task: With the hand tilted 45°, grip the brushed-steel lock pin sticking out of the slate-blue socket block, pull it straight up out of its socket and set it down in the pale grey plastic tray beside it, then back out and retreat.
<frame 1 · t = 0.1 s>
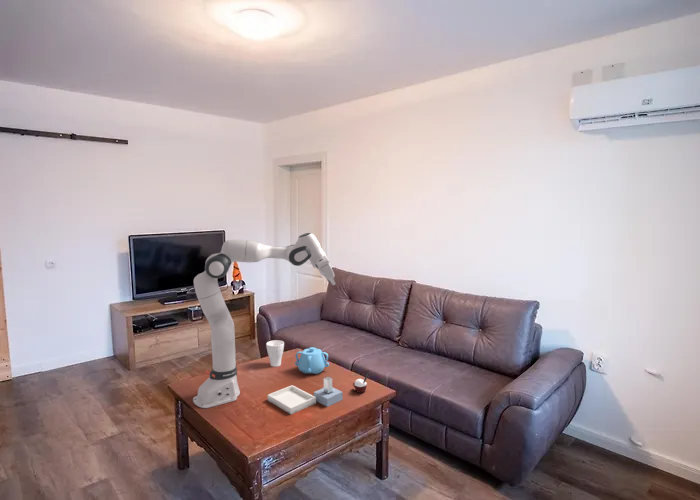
hand: (332, 282, 214), 54 cm above the table, tool tilted 30°, fingers open, 8 cm apart
socket block: (328, 399, 199), on the table
tray: (291, 401, 197), on the table
cocoa: (360, 391, 208), on the table
decorative pot: (312, 370, 234), on the table
lock pin: (328, 389, 198), in the socket block
cup: (275, 365, 243), on the table
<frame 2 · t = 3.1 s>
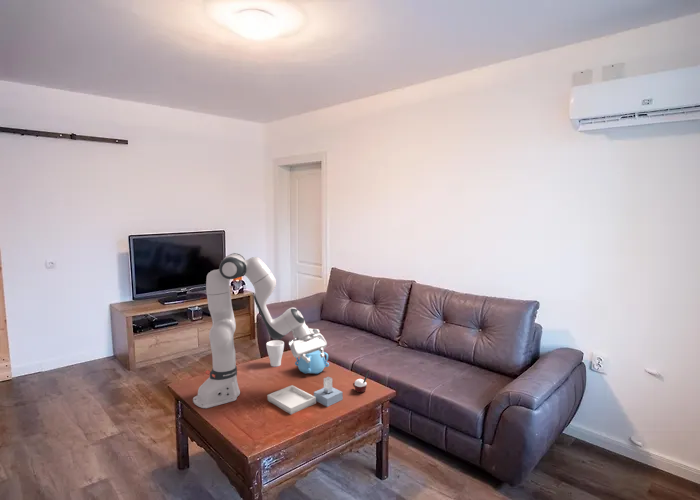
hand: (316, 359, 203), 18 cm above the table, tool tilted 45°, fingers open, 8 cm apart
nothing on the table moved.
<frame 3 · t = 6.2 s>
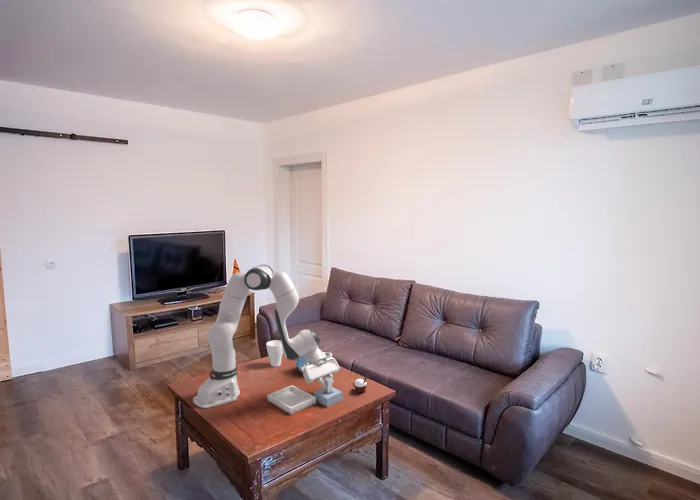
hand: (328, 384, 198), 8 cm above the table, tool tilted 45°, fingers closed on lock pin, 3 cm apart
lock pin: (328, 389, 198), in the socket block, touching gripper
everything else where it was.
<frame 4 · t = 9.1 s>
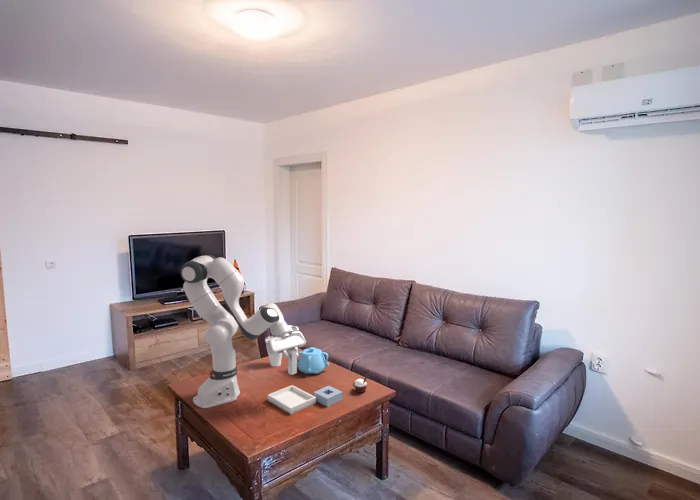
hand: (293, 357, 194), 22 cm above the table, tool tilted 45°, fingers closed on lock pin, 3 cm apart
lock pin: (292, 362, 195), point 20 cm above the table, touching gripper
everything else where it was.
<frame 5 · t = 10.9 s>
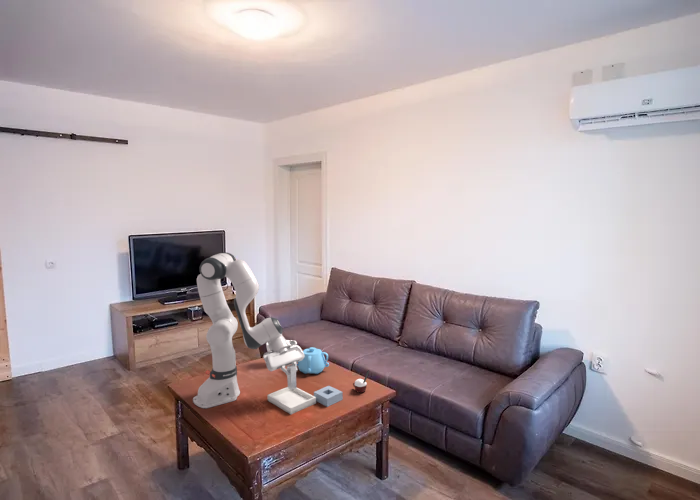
hand: (292, 372, 195), 15 cm above the table, tool tilted 45°, fingers closed on lock pin, 3 cm apart
lock pin: (291, 377, 195), point 13 cm above the table, touching gripper
everything else where it was.
when the fingers open (10 cm above the table, at t = 12.0 s): lock pin drops 2 cm, resting on tray.
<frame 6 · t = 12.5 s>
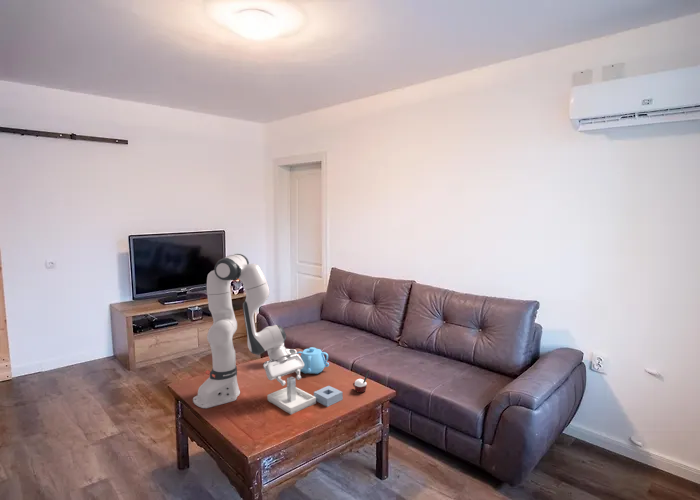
hand: (292, 381, 195), 10 cm above the table, tool tilted 45°, fingers open, 8 cm apart
lock pin: (291, 389, 196), in the tray, point 6 cm above the table
everything else where it was.
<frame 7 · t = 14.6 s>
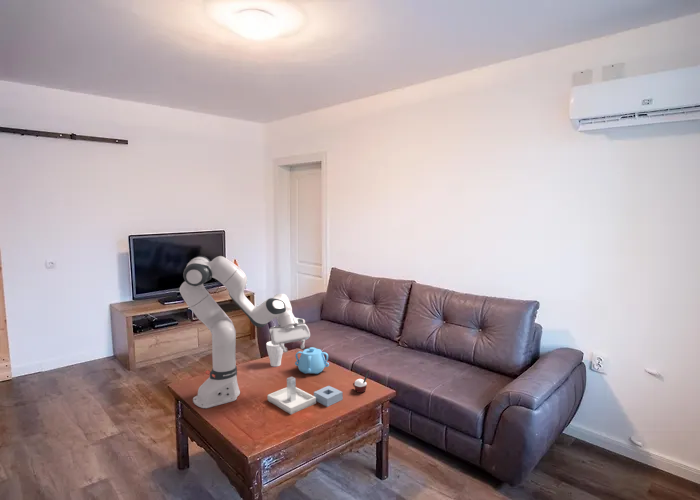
hand: (294, 350, 200), 24 cm above the table, tool tilted 35°, fingers open, 8 cm apart
nothing on the table moved.
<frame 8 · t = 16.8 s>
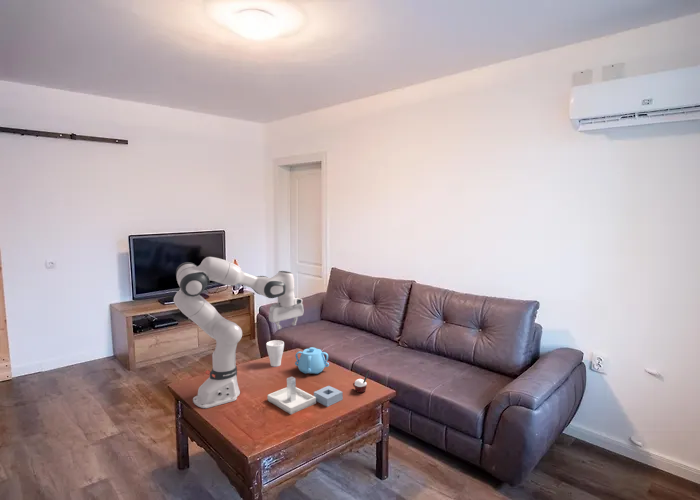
hand: (286, 327, 214), 31 cm above the table, tool pointing down, fingers open, 8 cm apart
nothing on the table moved.
at the end: lock pin inside the target area on the tray (0.0 cm from its centre), point 6.5 cm above the tray's base; the gripper is holding nothing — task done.
